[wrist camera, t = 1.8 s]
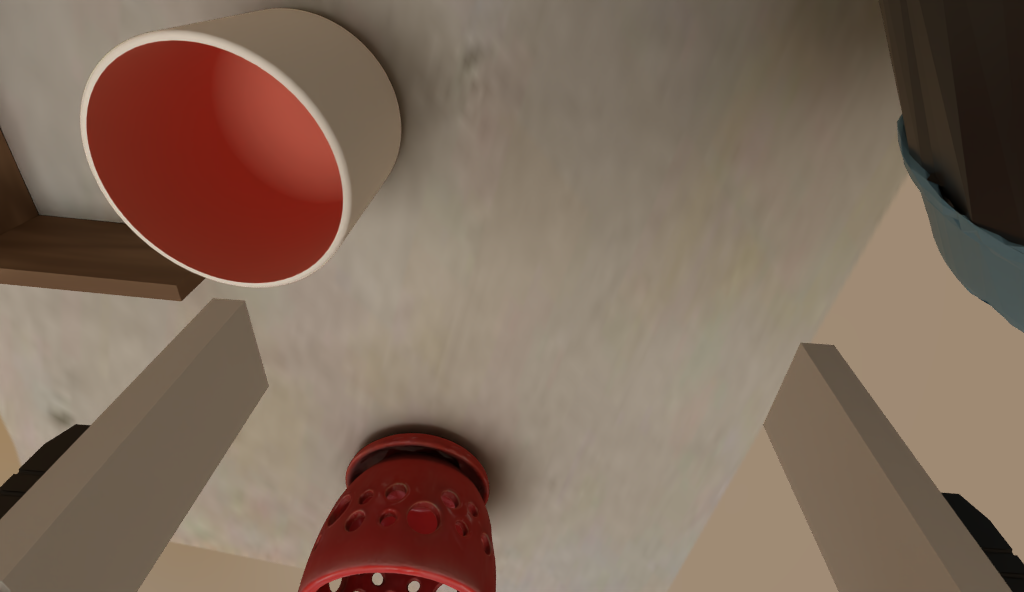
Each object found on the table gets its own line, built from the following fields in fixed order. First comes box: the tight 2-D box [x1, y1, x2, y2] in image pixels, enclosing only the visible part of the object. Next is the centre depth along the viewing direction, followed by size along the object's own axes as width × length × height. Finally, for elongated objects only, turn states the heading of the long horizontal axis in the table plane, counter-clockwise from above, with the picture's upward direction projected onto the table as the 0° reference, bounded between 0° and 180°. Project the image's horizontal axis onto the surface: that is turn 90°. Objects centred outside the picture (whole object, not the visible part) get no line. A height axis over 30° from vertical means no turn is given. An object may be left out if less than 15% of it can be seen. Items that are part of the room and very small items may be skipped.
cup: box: [80, 8, 401, 287], centre depth 24 cm, size 10×10×10 cm
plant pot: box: [298, 433, 496, 592], centre depth 39 cm, size 13×13×12 cm
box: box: [0, 129, 205, 301], centre depth 25 cm, size 18×13×6 cm
